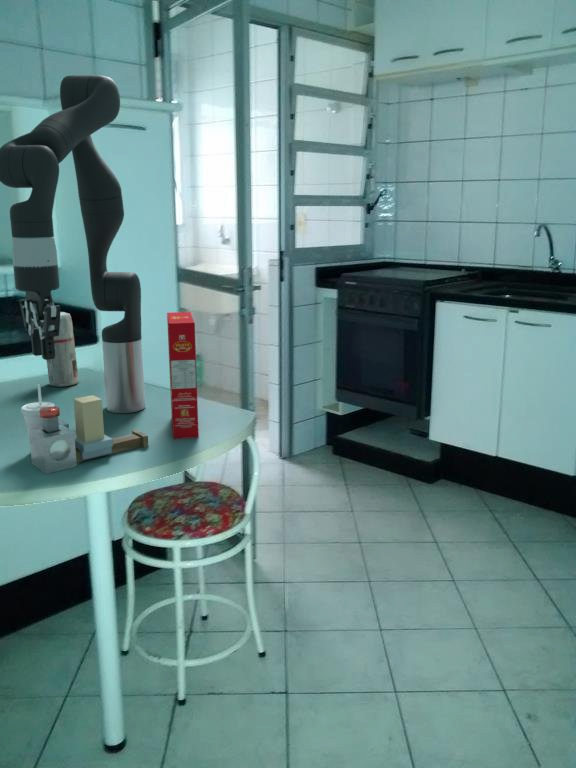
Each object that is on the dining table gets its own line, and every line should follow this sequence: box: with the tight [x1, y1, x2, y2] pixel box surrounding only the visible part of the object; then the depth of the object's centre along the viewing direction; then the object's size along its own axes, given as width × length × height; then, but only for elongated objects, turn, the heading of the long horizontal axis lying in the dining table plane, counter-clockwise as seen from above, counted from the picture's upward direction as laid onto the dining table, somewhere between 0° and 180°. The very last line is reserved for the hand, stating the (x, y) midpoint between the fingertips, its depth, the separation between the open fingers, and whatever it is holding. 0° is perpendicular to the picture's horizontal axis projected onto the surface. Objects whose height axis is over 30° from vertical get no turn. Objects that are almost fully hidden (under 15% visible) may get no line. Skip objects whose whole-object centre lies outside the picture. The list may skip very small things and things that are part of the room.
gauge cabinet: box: [28, 423, 78, 475], centre depth 132 cm, size 7×6×7 cm
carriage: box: [58, 394, 113, 461], centre depth 138 cm, size 15×7×11 cm, turn 40°
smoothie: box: [20, 383, 56, 440], centre depth 138 cm, size 6×6×14 cm
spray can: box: [46, 311, 79, 388], centre depth 190 cm, size 8×8×20 cm
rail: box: [75, 429, 149, 463], centre depth 139 cm, size 5×16×2 cm, turn 130°
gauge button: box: [39, 406, 61, 434], centre depth 131 cm, size 4×4×7 cm
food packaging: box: [166, 311, 200, 440], centre depth 152 cm, size 15×5×25 cm, turn 11°
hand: (43, 356), depth 127 cm, fingers open, 4 cm apart
